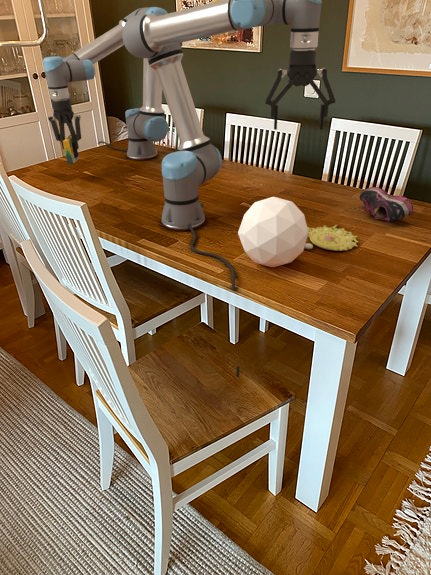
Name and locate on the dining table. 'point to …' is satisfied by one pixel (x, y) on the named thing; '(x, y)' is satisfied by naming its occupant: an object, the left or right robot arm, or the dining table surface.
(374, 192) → the athletic shoe
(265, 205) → the sphere
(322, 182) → the dining table surface
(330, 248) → the decorative object
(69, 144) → the crayon box
